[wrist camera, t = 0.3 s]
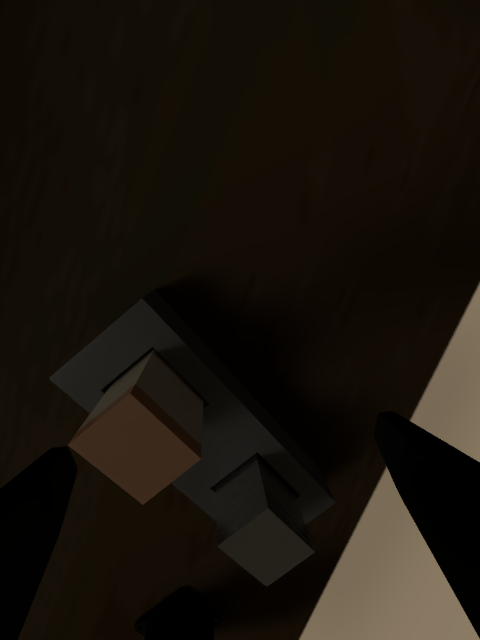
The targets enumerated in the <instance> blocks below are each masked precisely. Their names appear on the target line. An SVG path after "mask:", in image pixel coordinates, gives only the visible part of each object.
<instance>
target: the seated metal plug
mask: <svg viewBox="0 0 480 640" xmlns="http://www.w3.org/2000/svg"><path fill="white" fill-rule="evenodd" d="M216 522H217V547H219V548H220V549H221V550H222V551H223V552H225V553H226V554H227V555H228V556H229V557H231V558H232V559H233V560H234V561H236V562H237V563H238V564H239V565H240V566H242V567H243V568H244V569H245V570H247V571H248V572H249V573H250V574H251V575H253V576H254V577H255V578H256V579H258V580H259V581H260V582H261V583H262V584H264V585H265V586H266V587H267V586H269V585H270V584H271V583H273V582H274V581H276V580H277V579H278V578H280V577H281V576H283V575H284V574H285V573H287V572H288V571H290V570H291V569H292V568H294V567H295V566H296V565H298V564H299V563H301V562H302V561H303V560H305V559H306V558H308V557H309V556H310V555H312V554H313V553H315V551H314V548H313V545H312V542H311V539H310V536H309V533H308V531H307V528H306V525H305V522H304V519H303V516H302V513H301V510H300V508H299V505H298V502H297V499H296V496H295V493H294V490H293V488H292V487H291V486H290V485H289V484H288V483H287V482H286V481H285V480H284V479H283V478H282V477H281V475H280V474H279V473H278V472H277V471H276V470H275V469H274V468H273V467H272V466H271V465H270V464H269V463H268V462H267V461H266V460H265V459H264V458H263V457H262V456H261V455H260V454H259V453H258V452H257V453H255V454H254V455H253V456H252V457H250V458H249V459H248V460H246V461H245V462H244V463H242V464H241V465H240V466H239V467H237V468H236V469H235V470H233V471H232V472H231V473H229V474H228V475H227V476H226V477H224V478H223V479H222V480H220V481H219V482H218V483H216Z"/></svg>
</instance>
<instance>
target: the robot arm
mask: <svg viewBox="0 0 480 640" xmlns="http://www.w3.org/2000/svg"><path fill="white" fill-rule="evenodd" d="M374 436H375V440H376V443H377V445H378V447H379V450H380V452H381V454H382V456H383V459H384V461H385V463H386V466H387V468H388V470H389V472H390V474H391V477H392V479H393V481H394V483H395V486H396V488H397V490H398V492H399V494H400V496H401V498H402V500H403V502H404V504H405V505H406V507H407V509H408V511H409V513H410V514H411V516H412V518H413V520H414V522H415V523H416V525H417V527H418V529H419V531H420V532H421V534H422V536H423V538H424V540H425V541H426V543H427V545H428V547H429V548H430V550H431V552H432V554H433V556H434V557H435V559H436V561H437V563H438V565H439V566H440V568H441V570H442V572H443V574H444V575H445V577H446V578H447V581H448V583H449V584H450V586H451V588H452V590H453V591H454V593H455V595H456V597H457V599H458V600H459V602H460V604H461V606H462V608H463V609H464V611H465V613H466V615H467V616H468V618H469V620H470V622H471V623H472V626H473V627H474V629H475V631H476V632H477V635H478V636H479V638H480V462H478V461H476V460H475V459H473V458H471V457H470V456H468V455H466V454H464V453H463V452H461V451H459V450H458V449H456V448H454V447H453V446H451V445H449V444H448V443H446V442H444V441H442V440H441V439H439V438H437V437H436V436H434V435H432V434H431V433H429V432H427V431H426V430H424V429H422V428H420V427H419V426H417V425H416V424H414V423H412V422H410V421H409V420H407V419H405V418H404V417H402V416H400V415H399V414H397V413H395V412H392V411H390V412H381V413H379V414H378V416H377V421H376V426H375V432H374ZM76 476H77V464H76V462H75V460H74V458H73V455H72V453H71V451H70V449H69V448H68V447H66V446H64V447H54V448H51V449H50V450H48V451H47V452H46V453H44V454H43V455H42V456H41V457H39V458H38V459H37V460H36V461H34V462H33V463H32V464H31V465H29V466H28V467H27V468H26V469H24V470H23V471H22V472H21V473H19V474H18V475H17V476H16V477H14V478H13V479H12V480H11V481H9V482H8V483H7V484H6V485H4V486H3V487H2V488H1V489H0V640H18V637H19V635H20V632H21V630H22V627H23V625H24V622H25V620H26V617H27V615H28V612H29V610H30V607H31V605H32V602H33V600H34V597H35V594H36V592H37V589H38V587H39V584H40V582H41V579H42V577H43V574H44V572H45V569H46V567H47V564H48V562H49V559H50V557H51V554H52V552H53V549H54V547H55V544H56V541H57V539H58V536H59V533H60V530H61V527H62V524H63V520H64V517H65V514H66V510H67V507H68V503H69V500H70V497H71V493H72V490H73V486H74V483H75V480H76ZM220 624H221V617H220V616H219V615H218V614H216V613H215V612H214V611H212V610H211V609H209V608H208V607H207V606H205V605H204V604H203V603H201V602H200V601H198V600H197V599H196V598H194V597H193V596H191V595H190V594H189V593H187V592H186V591H185V590H178V591H176V592H175V593H174V594H172V595H171V596H170V597H168V598H167V599H166V600H164V601H163V602H162V603H160V604H159V605H158V606H156V607H155V608H154V609H152V610H151V611H150V612H148V613H147V614H145V615H144V616H143V617H141V618H140V619H139V620H137V621H136V623H135V630H136V631H137V632H139V633H140V634H142V635H143V636H145V640H214V629H215V628H216V627H218V626H219V625H220Z"/></svg>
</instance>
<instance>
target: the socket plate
mask: <svg viewBox="0 0 480 640" xmlns="http://www.w3.org/2000/svg"><path fill="white" fill-rule="evenodd" d="M152 347H153V348H154V349H155V350H156V351H157V352H158V353H159V354H160V355H161V356H162V357H163V358H164V359H165V360H166V361H167V362H168V363H169V364H170V365H171V366H172V367H173V368H174V369H175V370H176V371H177V372H178V373H179V374H180V375H181V376H182V377H183V378H184V379H185V380H186V381H187V382H188V383H189V384H190V385H191V386H192V387H193V388H194V389H195V390H196V391H197V392H198V393H199V394H200V395H201V396H202V397H203V398H204V403H203V428H202V453H201V460H199V461H198V462H197V463H196V464H194V465H193V466H192V467H190V468H189V469H188V470H187V471H185V472H184V473H183V474H181V475H180V476H179V477H178V478H176V479H175V480H174V481H173V482H171V483H172V484H173V485H174V486H175V487H176V488H178V489H179V490H180V491H181V492H182V493H184V494H185V495H186V496H187V497H188V498H189V499H191V500H192V501H193V502H194V503H195V504H196V505H198V506H199V507H200V508H201V509H202V510H203V511H205V512H206V513H207V514H208V515H209V516H210V517H212V518H213V519H214V520H215V521H216V483H218V482H219V481H220V480H222V479H223V478H224V477H226V476H227V475H228V474H229V473H231V472H232V471H233V470H235V469H236V468H237V467H239V466H240V465H241V464H242V463H244V462H245V461H246V460H248V459H249V458H250V457H252V456H253V455H254V454H255V453H257V452H258V453H259V454H260V455H261V456H262V457H263V458H264V459H265V460H266V461H267V462H268V463H269V464H270V465H271V466H272V467H273V468H274V469H275V470H276V471H277V472H278V473H279V474H280V475H281V477H282V478H283V479H284V480H285V481H286V482H287V483H288V484H289V485H290V486H291V487H292V488H293V490H294V493H295V496H296V499H297V502H298V505H299V508H300V510H301V513H302V516H303V519H304V522H305V525H306V524H307V523H309V522H310V521H312V520H313V519H314V518H316V517H317V516H318V515H320V514H321V513H322V512H324V511H325V510H327V509H328V508H329V507H331V506H332V505H333V504H335V503H336V502H335V500H334V498H333V496H332V494H331V492H330V490H329V488H328V486H327V484H326V482H325V480H324V478H323V476H322V474H321V472H320V470H319V468H318V466H317V465H316V464H315V462H314V461H313V460H312V459H311V458H310V457H309V456H308V455H307V454H306V453H305V452H304V451H303V449H302V448H301V447H300V446H299V445H298V444H297V443H296V442H295V441H294V440H293V439H292V438H291V436H290V435H289V434H288V433H287V432H286V431H285V430H284V429H283V428H282V427H281V426H280V425H279V424H278V422H277V421H276V420H275V419H274V418H273V417H272V416H271V415H270V414H269V413H268V412H267V411H266V409H265V408H264V407H263V406H262V405H261V404H260V403H259V402H258V401H257V400H256V399H255V398H254V396H253V395H252V394H251V393H250V392H249V391H248V390H247V389H246V388H245V387H244V386H243V385H242V383H241V382H240V381H239V380H238V379H237V378H236V377H235V376H234V375H233V374H232V373H231V372H230V370H229V369H228V368H227V367H226V366H225V365H224V364H223V363H222V362H221V361H220V360H219V359H218V357H217V356H216V355H215V354H214V353H213V352H212V351H211V350H210V349H209V348H208V347H207V346H206V344H205V343H204V342H203V341H202V340H201V339H200V338H199V337H198V336H197V335H196V334H195V333H194V332H193V330H192V329H191V328H190V327H189V326H188V325H187V324H186V323H185V322H184V321H183V320H182V319H181V317H180V316H179V315H178V314H177V313H176V312H175V311H174V310H173V309H172V308H171V307H170V306H169V304H168V303H167V302H166V301H165V300H164V299H163V298H162V297H161V296H160V295H159V294H158V293H157V291H156V290H155V289H154V290H153V291H152V292H150V293H149V294H147V295H146V296H145V297H143V298H142V299H141V300H140V301H138V302H137V303H136V304H135V305H134V306H133V307H131V308H130V309H129V310H128V311H127V312H126V313H124V314H123V315H122V316H121V317H120V318H119V319H117V320H116V321H115V322H114V323H113V324H112V325H110V326H109V327H108V328H107V329H106V330H105V331H103V332H102V333H101V334H100V335H99V336H98V337H96V338H95V339H94V340H93V341H92V342H91V343H89V344H88V345H87V346H86V347H85V348H84V349H82V350H81V351H80V352H79V353H78V354H77V355H75V356H74V357H73V358H72V359H71V360H70V361H68V362H67V363H66V364H65V365H64V366H63V367H61V368H60V369H59V370H58V371H57V372H56V373H54V374H53V375H52V376H51V377H50V378H49V379H50V380H51V381H52V382H53V383H55V384H56V385H57V386H58V387H59V388H60V389H62V390H63V391H64V392H65V393H66V394H68V395H69V396H70V397H71V398H72V399H73V400H75V401H76V402H77V403H78V404H79V405H80V406H82V407H83V408H84V409H85V410H86V411H87V412H89V413H90V414H91V412H92V411H93V409H94V408H95V407H96V405H97V404H98V403H99V401H100V400H101V398H102V397H103V396H104V394H105V393H106V392H107V390H108V389H109V387H110V386H111V385H112V383H113V382H114V381H115V379H116V378H117V376H118V375H119V374H121V373H122V372H123V371H124V370H125V369H127V368H128V367H129V366H130V365H131V364H133V363H134V362H135V361H136V360H137V359H139V358H140V357H141V356H142V355H143V354H145V353H146V352H147V351H148V350H149V349H151V348H152Z"/></svg>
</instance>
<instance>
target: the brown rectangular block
mask: <svg viewBox="0 0 480 640" xmlns="http://www.w3.org/2000/svg"><path fill="white" fill-rule="evenodd" d="M203 403H204V398H203V397H202V396H201V395H200V394H199V393H198V392H197V391H196V390H195V389H194V388H193V387H192V386H191V385H190V384H189V383H188V382H187V381H186V380H185V379H184V378H183V377H182V376H181V375H180V374H179V373H178V372H177V371H176V370H175V369H174V368H173V367H172V366H171V365H170V364H169V363H168V362H167V361H166V360H165V359H164V358H163V357H162V356H161V355H160V354H159V353H158V352H157V351H156V350H155V349H154V348H153V347H152V348H151V349H149V350H148V351H147V352H146V353H145V354H143V355H142V356H141V357H140V358H139V359H137V360H136V361H135V362H134V363H133V364H131V365H130V366H129V367H128V368H127V369H125V370H124V371H123V372H122V373H121V374H119V375H118V376H117V378H116V379H115V381H114V382H113V383H112V385H111V386H110V387H109V389H108V390H107V392H106V393H105V394H104V396H103V397H102V398H101V400H100V401H99V403H98V404H97V405H96V407H95V408H94V409H93V411H92V412H91V414H90V415H89V416H88V418H87V419H86V420H85V422H84V423H83V425H82V426H81V427H80V429H79V430H78V431H77V433H76V434H75V436H74V437H73V438H72V440H71V441H70V443H69V444H68V445H69V446H70V447H71V448H72V449H74V450H75V451H76V452H77V453H79V454H80V455H81V456H82V457H84V458H85V459H86V460H87V461H89V462H90V463H91V464H92V465H94V466H95V467H96V468H97V469H99V470H100V471H101V472H102V473H104V474H105V475H106V476H107V477H109V478H110V479H111V480H113V481H114V482H115V483H116V484H118V485H119V486H120V487H121V488H123V489H124V490H125V491H126V492H128V493H129V494H130V495H131V496H133V497H134V498H135V499H136V500H138V501H139V502H140V503H141V504H144V503H146V502H147V501H148V500H150V499H151V498H152V497H153V496H155V495H156V494H157V493H158V492H160V491H161V490H162V489H164V488H165V487H166V486H167V485H169V484H170V483H171V482H173V481H174V480H175V479H176V478H178V477H179V476H180V475H181V474H183V473H184V472H185V471H187V470H188V469H189V468H190V467H192V466H193V465H194V464H196V463H197V462H198V461H199V460H201V453H202V428H203Z"/></svg>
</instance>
